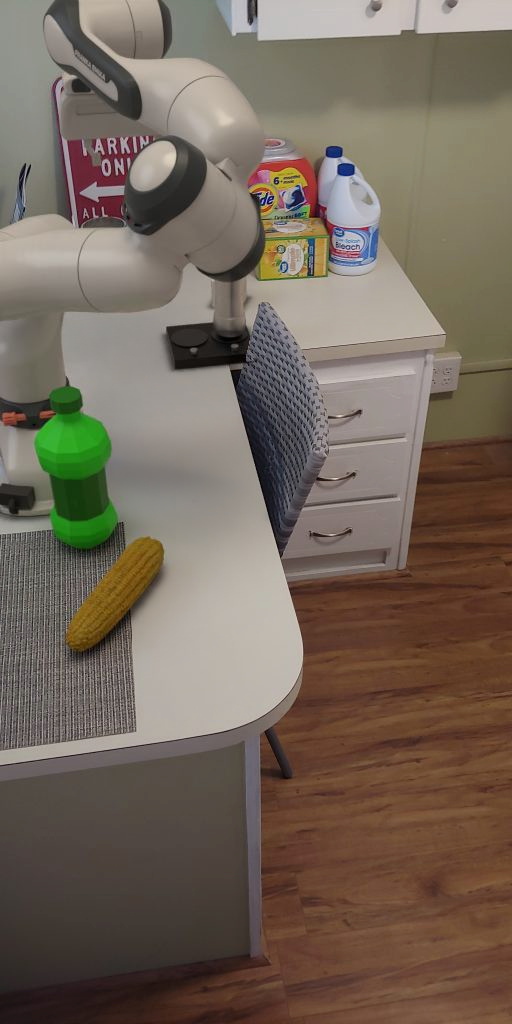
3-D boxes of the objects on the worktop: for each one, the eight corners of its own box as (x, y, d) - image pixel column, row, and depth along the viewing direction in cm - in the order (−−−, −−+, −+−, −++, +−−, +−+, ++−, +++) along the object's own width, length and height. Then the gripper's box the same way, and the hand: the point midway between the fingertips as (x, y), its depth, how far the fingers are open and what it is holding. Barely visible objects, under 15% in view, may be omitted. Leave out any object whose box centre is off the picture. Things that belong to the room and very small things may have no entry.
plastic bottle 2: (230, 322, 188) (228, 226, 175) (253, 334, 184) (252, 236, 171) (206, 333, 184) (202, 235, 172) (228, 345, 181) (226, 246, 168)
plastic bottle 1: (40, 554, 136) (12, 409, 121) (70, 511, 144) (48, 370, 128) (104, 566, 134) (84, 421, 118) (131, 521, 142) (115, 380, 126)
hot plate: (256, 361, 180) (256, 347, 178) (174, 369, 178) (174, 355, 176) (244, 328, 191) (243, 314, 189) (166, 335, 189) (165, 321, 187)
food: (137, 556, 136) (134, 525, 132) (171, 567, 134) (169, 535, 130) (58, 655, 121) (52, 623, 117) (95, 668, 119) (90, 636, 115)
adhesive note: (246, 298, 202) (246, 272, 198) (238, 310, 197) (238, 284, 193) (220, 295, 203) (219, 269, 199) (211, 307, 198) (211, 280, 195)
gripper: (180, 66, 151) (184, 153, 160) (53, 73, 148) (64, 160, 157) (185, 76, 147) (189, 165, 155) (53, 83, 144) (65, 173, 152)
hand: (125, 163), depth 156 cm, fingers open, 8 cm apart
